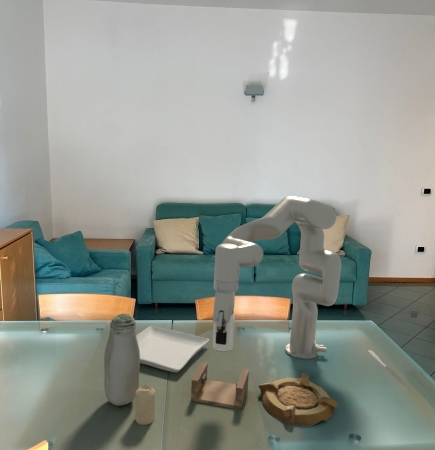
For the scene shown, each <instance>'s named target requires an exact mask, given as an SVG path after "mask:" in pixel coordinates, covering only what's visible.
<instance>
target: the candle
mask: <svg viewBox="0 0 435 450" xmlns="http://www.w3.org/2000/svg"><path fill="white" fill-rule="evenodd" d="M134 399H135V400H134V401H135V402H134V403H135V405H134V407H135V411H134V419H135V422H136V423H137V424H138V425H141V426H142V425H143V426H145V425H150V424H152V423H153V422H154V420H155V415H156V413H155V409H156V406H155V404H156V390H155V389H154V388H152V386H149V385H148V384H144V385H142V386H141V387H140V386H139V388H138V390H137V391H136V396H135V398H134Z"/></svg>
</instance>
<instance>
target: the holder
mask: <svg viewBox="0 0 435 450" xmlns="http://www.w3.org/2000/svg"><path fill="white" fill-rule="evenodd" d="M208 364H209V363H208V362H204V361H201V363H200V364H199V366H198V368H197V369H196V372H195V373H194V376H192V378H191V386H190V388H191V389H190V390H191V393H190V401H192V402H197V403H202V404H209V405H212V406H213V405H214V406H218V407H224V408H229V409H230V408H231V409H234V410H242V408H243V406H244V402H245V399H246V396H247V393H248V389H249V375H250V369H247V368H242V370H241V372H240V375H239V378H238V379H237V381H236V383H230V382H225V381H221V380H212V379H209V378H208Z"/></svg>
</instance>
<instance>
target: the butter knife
mask: <svg viewBox="0 0 435 450" xmlns="http://www.w3.org/2000/svg"><path fill="white" fill-rule="evenodd" d="M367 351H368V353H369V354H370V355H371V356H372V357H373V358H374V359H375V360H377V362H379V363H380V364H381V365H382V366H383V367H387V365H386V364H385V363H384V362H383V361H382V360H381V358H380V357H379V356H378V355H377V354H376V353H375V352H374V351H373V350H371V349H369V350H367ZM387 368H388V367H387Z"/></svg>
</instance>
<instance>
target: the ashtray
mask: <svg viewBox="0 0 435 450" xmlns="http://www.w3.org/2000/svg"><path fill="white" fill-rule="evenodd" d="M309 377H310V376H309V375H308V374H306V373H302V374H301V377H300V378H296V377H286V378H285V377H284V378H280V379H277V380H274V381H272V382H267V383H261V384H259V385H258V388H259V390H260V391H259V392H260V395H259V396H260V397H261V399H262V404H263V407H264V408H265V410H266V411H267V412H268V413H269V414H270V415H271V416H272V417H274V418H276V419H278V420H279V421H281V422H285V423H288V424H290V425H299V426H308V427H309V426H310V427H311V426H313V425H317V424H318V423H320V422H321V421H325V422H328V420H329V419H331V418H332V417H333V416H334V410H335V409H336V408H337V407H338V401H336V400H334V399H332V398H331V397H330V396H329V394H328V393H327V392H326V391H325V390H324V389H323V387H321V386H319V385H317V384H316V383H314V382H312V381H310V380H309V379H310V378H309Z"/></svg>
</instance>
